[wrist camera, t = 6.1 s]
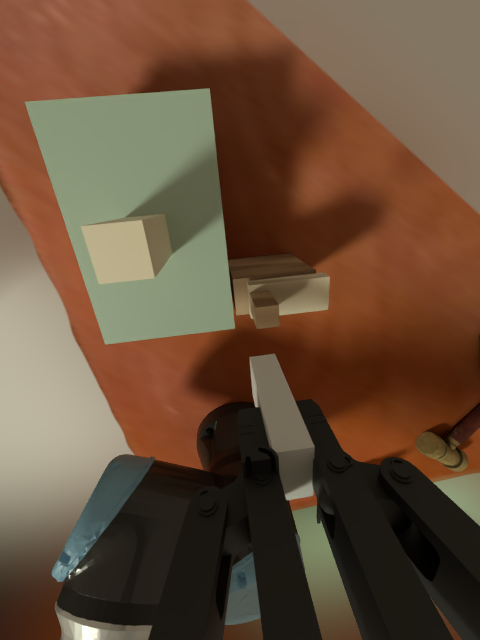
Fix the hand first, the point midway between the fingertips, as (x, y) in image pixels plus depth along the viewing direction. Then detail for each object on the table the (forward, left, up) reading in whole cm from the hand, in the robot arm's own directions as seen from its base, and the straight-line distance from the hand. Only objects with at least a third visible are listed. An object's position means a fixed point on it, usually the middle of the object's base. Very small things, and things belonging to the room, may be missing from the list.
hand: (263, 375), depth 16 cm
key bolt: (0, -5, -13) cm, 14 cm away
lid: (+7, +8, -16) cm, 19 cm away
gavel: (-34, -44, -25) cm, 61 cm away
